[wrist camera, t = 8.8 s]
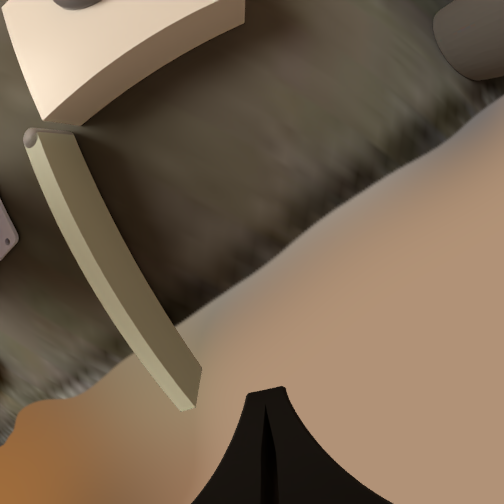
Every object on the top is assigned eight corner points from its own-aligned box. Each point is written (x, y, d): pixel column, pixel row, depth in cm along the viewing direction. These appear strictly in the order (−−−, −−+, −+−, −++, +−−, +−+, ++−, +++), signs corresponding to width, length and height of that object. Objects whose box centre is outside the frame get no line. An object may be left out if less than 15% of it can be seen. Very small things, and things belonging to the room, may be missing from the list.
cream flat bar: (59, 137, 15) (21, 135, 11) (71, 127, 15) (34, 123, 11) (189, 372, 19) (180, 411, 16) (202, 367, 19) (195, 407, 16)
